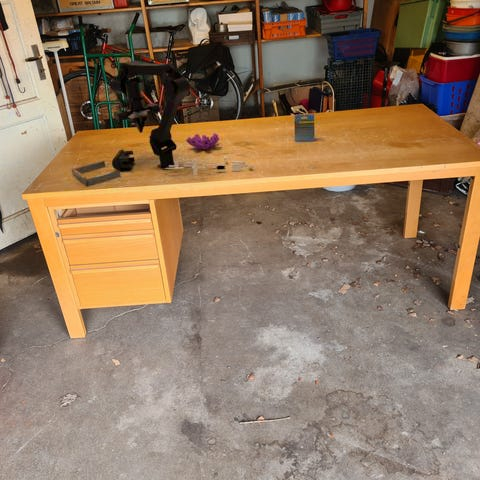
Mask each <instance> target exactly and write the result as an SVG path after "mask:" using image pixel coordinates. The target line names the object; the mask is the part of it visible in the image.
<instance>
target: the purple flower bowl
mask: <svg viewBox="0 0 480 480" xmlns="http://www.w3.org/2000/svg"><path fill="white" fill-rule="evenodd" d="M201 136H202V137H201ZM201 136H200V134H199V133H196V134H195V135H194V136H193V137H190V136H189V137H187V138H186V142H187V144H188V145H190V146H192V147H193V148H195V149H197V150H208V149H209V148H213V147H214V146H216V144H218V142H219V140H220V137H219V134H217V133H213V134H212V136H210V137H209V136H207V135H206V134H204V135H201Z"/></svg>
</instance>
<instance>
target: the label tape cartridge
mask: <svg viewBox="0 0 480 480" xmlns="http://www.w3.org/2000/svg"><path fill="white" fill-rule="evenodd" d="M314 141H315V113H313V114H312V113H311V114H294V142H295V143H297V142H298V143H299V142H314Z"/></svg>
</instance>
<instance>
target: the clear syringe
mask: <svg viewBox="0 0 480 480" xmlns="http://www.w3.org/2000/svg"><path fill="white" fill-rule="evenodd" d="M223 160H224V161H225V162H226V161H227V156H225V155H224V156H223ZM197 161H198V160H197V159H196V158H193V159H192V162H183V165H182V166H180V160H174V165H167V166H168V167H172V168H164V169H165V170H168V169H170V170H171V169H172V170H173V169H174V170H182V169H184V168H191V169H192V174H193V176H197V175H198V169H202V170H204V169H205V168H206V167H211V166H212V169H216V170H217V171H219V170H223V171H225V170H226V166H229V164H228V163H225V164H219V163H217V162H216V161H214V162H213V164H205V163H202V164H201V166H199V164H198V162H197ZM230 165H231V166H232V168H230V171H241V170H242V169H243V168H246V165H247V164H246V161H237V160H236V161H231V162H230ZM253 167H254V166H253V165H251V164H248V165H247V168H250V169H252V168H253ZM164 169H163V170H164Z"/></svg>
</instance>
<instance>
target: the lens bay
mask: <svg viewBox="0 0 480 480" xmlns="http://www.w3.org/2000/svg"><path fill="white" fill-rule="evenodd" d="M106 167H107V166H106V162H105V160H102V161H98V162H93V163H90V164H86V165H83V166H79V167H75V168H72V169H71V172H72V176H73V177H75V178H76V179H77V180H78V181H80V182H81V183H82V184H83V185H85V186H86V187H90V186H94V185H97V184H101V183H104V182H107V181H111V180H115V179H117V178H121V172H120V171H119V170H114V171H111V172H107V173H102V174H99V175H95V176H93V177H90V178H89V177H88V178H87V177H86V176H85V175H83V174H85V173H89V172H92V171H96V170H99V169H103V168H106Z"/></svg>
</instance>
